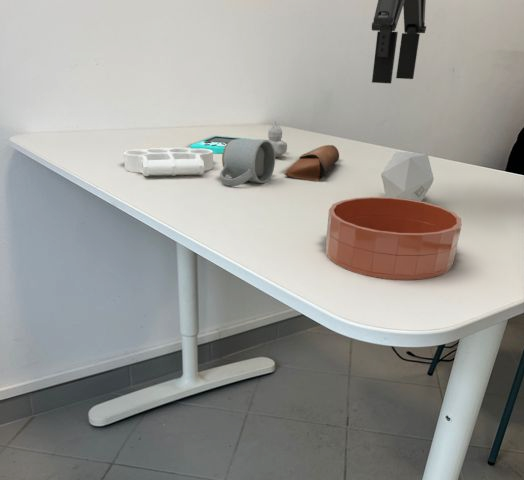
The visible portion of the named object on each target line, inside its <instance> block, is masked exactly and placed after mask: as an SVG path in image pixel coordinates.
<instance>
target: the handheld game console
mask: <svg viewBox="0 0 524 480" xmlns="http://www.w3.org/2000/svg"><path fill="white" fill-rule="evenodd" d="M235 139H246V138H245V137H244V138H243V137H231V136H222V135H221V136H219V135H214V136H212V137H209V138H206V139H204V140H201V141H198V142H196V143H193V144H191V145H190V146H189V149H200V148H202V149H209V150H212V151H213V154H223V151H224V148H225V146H226V145H227V143H228V142H230V141H232V140H235Z"/></svg>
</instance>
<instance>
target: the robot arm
mask: <svg viewBox="0 0 524 480" xmlns="http://www.w3.org/2000/svg"><path fill="white" fill-rule="evenodd" d="M426 1H427V0H377V4H376V8H375V13H374V16H373V21H372V22H371V31H372V32H373V31H374V32H375V31H376V32H377V34H376V42H375V51H374V61H373V68H372V76H371V77H372V78H371V83H373V84H374V83H375V84H376V83H377V84H392V82H393V81H392V79H393V72H394V64H395V57H396V49H397V42H398V41H397V40H398V33H399V32H398V31H396V29H397V27H398V22H399V20H400V17H401V14H402V12H403V30H404V32H402V33H401V37H400V38H401V39H400V45H399V53H398V59H397V69H396V75H395V79H401V80H403V79H404V80H413V79H414V76H415V71H416V70H415V69H416V63H417V56H418V49H419V42H420V35H421V34H425V33H426V31H427V25H426V4H427V3H426ZM402 10H403V11H402Z"/></svg>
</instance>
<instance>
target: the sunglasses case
mask: <svg viewBox="0 0 524 480" xmlns="http://www.w3.org/2000/svg"><path fill="white" fill-rule="evenodd" d="M339 159H340V153H339V150H338V148H337V147H336V146H335V145H333V144H325V145H322V146H319V147H315V148H314V149H312V150H310V151H307V152H306V153H303V154H301V155H300V156H299V158H298V160H296V161H295V162H293V164H292V165H291V166H290V167H288V168H287V169H286V170H285V172H284V175H285V176H287V177H289V178H292V179H297V180H303V181H312V182H319V181H321V180H322V179H323V178H325V177H326V176H327V174H328V172H329V171H330V170H331V168H333V167H334V165H335V164H336V163H337V162H338V161H339Z"/></svg>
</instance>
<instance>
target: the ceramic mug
mask: <svg viewBox="0 0 524 480" xmlns="http://www.w3.org/2000/svg"><path fill="white" fill-rule="evenodd" d="M268 140H269V139H254V138H253V139H252V138H245V139H235V140H232V141H230V142H228V143H227V145H226V146H225V148H224V151H223V153H222V157H221V164H222V167H223V168H222V169H221V170H220V172H219V177H220V180H221V183H222V184H223V185H225V186H227V187H238V186H241V185H243V184H245V183H247V182H252V183H258V184H266V183H267V182H268V181H269V180H270V179H271V178H272V176H273V173H274V170H275V167H276V166H275V165H276V157H275V152H274V148H273V145H272V144H271V142H270V141H268ZM227 176H228V177H231V178H226V177H227Z"/></svg>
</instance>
